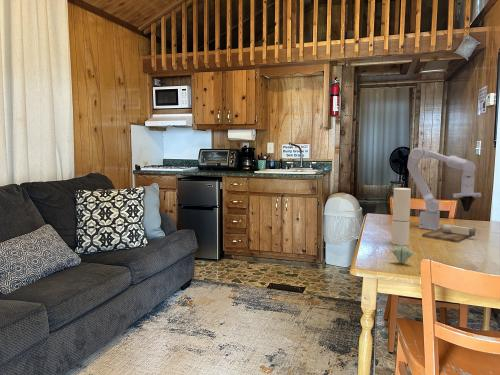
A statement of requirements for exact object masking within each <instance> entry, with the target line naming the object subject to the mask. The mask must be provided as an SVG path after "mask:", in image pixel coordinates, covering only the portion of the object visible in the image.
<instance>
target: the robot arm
mask: <svg viewBox="0 0 500 375" xmlns="http://www.w3.org/2000/svg"><path fill="white" fill-rule="evenodd" d="M423 158H424V159H427V158H431V159H434V160H437V161H440V162H443V163H445V164H446V166H447V167H449V168H453V169H456V170H458V171H460V170H462V175H461V182H460V183H461V184H460V185H461V186H460V189H461V190H460V192H458V193H453V194H452V197H453V198H455V199H457V198H459V201H460V202H461V205H462V209H463V211H464V212H469V211H470V209H471V207H472V205H473V203H474V201H475V199H476V198H481V197H482V192H475V179H476V177H475V173H476V172H475V171H476V169H477V167H476V164H475V163H474V162H473V161H472V160H471V161H470V160H468V159H467V158H465V159H464V158H460V157H458V155H456V154H455V155H450V156H446V155H444V154H442V153H438V152H436V151H433V150H431V149H430V150H429V149H425V148H420V147H415V148H413V149H411V150H410V153H409V154H408V159H407V167H406V168H407V169H408V173H410V175H411V178H412V180H413V181H414V183H415V185H416V187H417V188H418V191H419V192H420V195H421V196H422V199H423V200H424V203H425V210H421V211H420V213H419V217H418V219H419V220H418V226H417V227H418V229H419V228H420V229H426V230H430V231H433V230H436V229H439V228H443V226H442V227H441V226H440V217H441V216H440V215H441V211H440V210H439V209H440V202H439V200H437V199H436V198H435V197H434V195H433V193H432V192H431V190H430V188H429V186H428V184H427V183H426V181H425V179H424V177H423V175H422V174H421V171H420V170H419V168H418V165H419V163H420V161H421V160H422V159H423Z"/></svg>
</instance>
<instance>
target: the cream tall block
mask: <svg viewBox="0 0 500 375" xmlns="http://www.w3.org/2000/svg"><path fill="white" fill-rule="evenodd" d="M411 195H412V188H409V187H394V188H393V196H392V197H393V200H392V202H393V203H392V227H391V228H392V229H391V230H392V231H391V243H392V245H395V244H397V245H396V246H408V245H409V244H410V223H411V222H410V221H411V219H410V218H411Z"/></svg>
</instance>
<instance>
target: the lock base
mask: <svg viewBox="0 0 500 375" xmlns="http://www.w3.org/2000/svg"><path fill="white" fill-rule="evenodd" d="M421 235H422V236H421V237H423V238H428V239H434V240H438V241H439V240H441V241H445V242H452V243H460V242H462V241H464V240H467V239H470V238H471V237H472V236H470V235H464V234H457V233H448V232H443V227H442V228H439V229H436V230H430V231H427V232H425V233H422V234H421Z"/></svg>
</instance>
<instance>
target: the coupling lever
mask: <svg viewBox="0 0 500 375" xmlns="http://www.w3.org/2000/svg"><path fill="white" fill-rule="evenodd" d="M442 228H443V232H448V233H457V234H464V235H470V236H471V237H475V236H476V228H473V227H468V226H467V227H465V226H459V225H453V224H446V223H445V224H442Z"/></svg>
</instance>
